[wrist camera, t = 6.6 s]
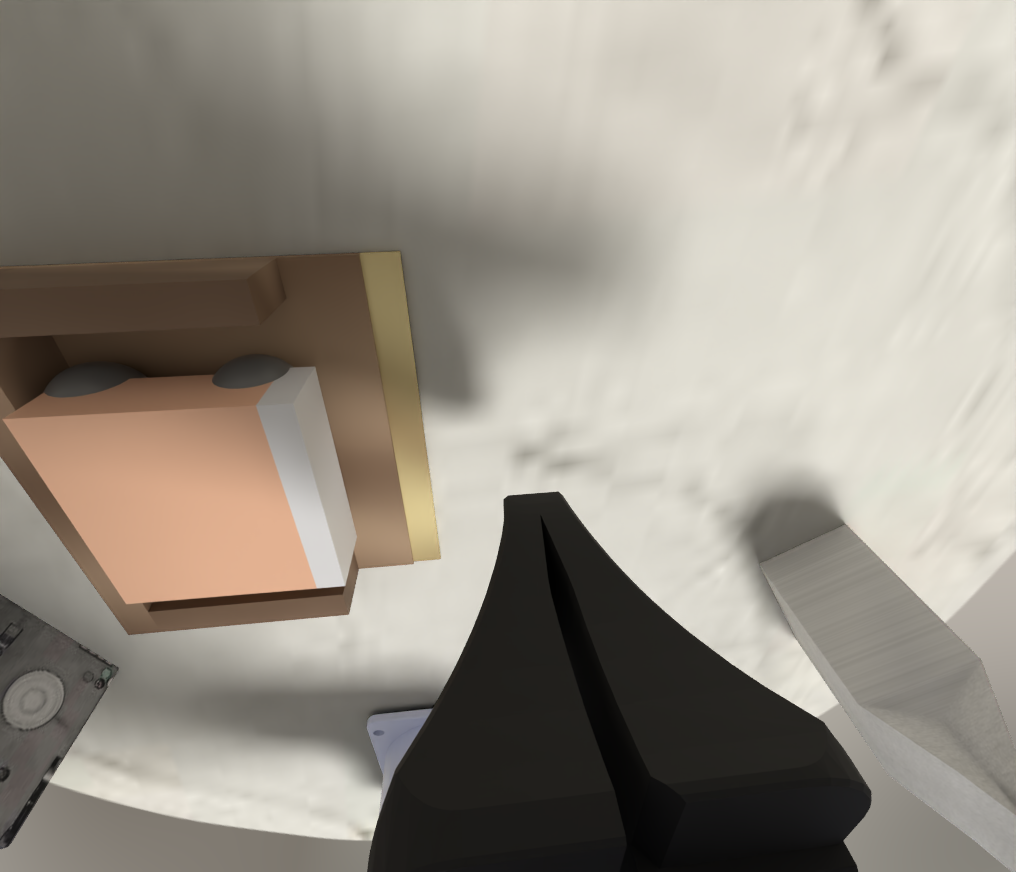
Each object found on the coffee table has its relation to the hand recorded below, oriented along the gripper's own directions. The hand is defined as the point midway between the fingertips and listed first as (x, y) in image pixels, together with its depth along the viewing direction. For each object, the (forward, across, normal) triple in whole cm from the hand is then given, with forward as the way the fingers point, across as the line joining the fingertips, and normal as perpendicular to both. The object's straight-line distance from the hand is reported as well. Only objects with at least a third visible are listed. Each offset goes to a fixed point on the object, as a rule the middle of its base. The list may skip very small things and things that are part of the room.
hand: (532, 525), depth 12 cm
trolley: (+4, +9, 0) cm, 10 cm away
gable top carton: (+5, -14, +9) cm, 17 cm away
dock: (+4, +8, 0) cm, 9 cm away
